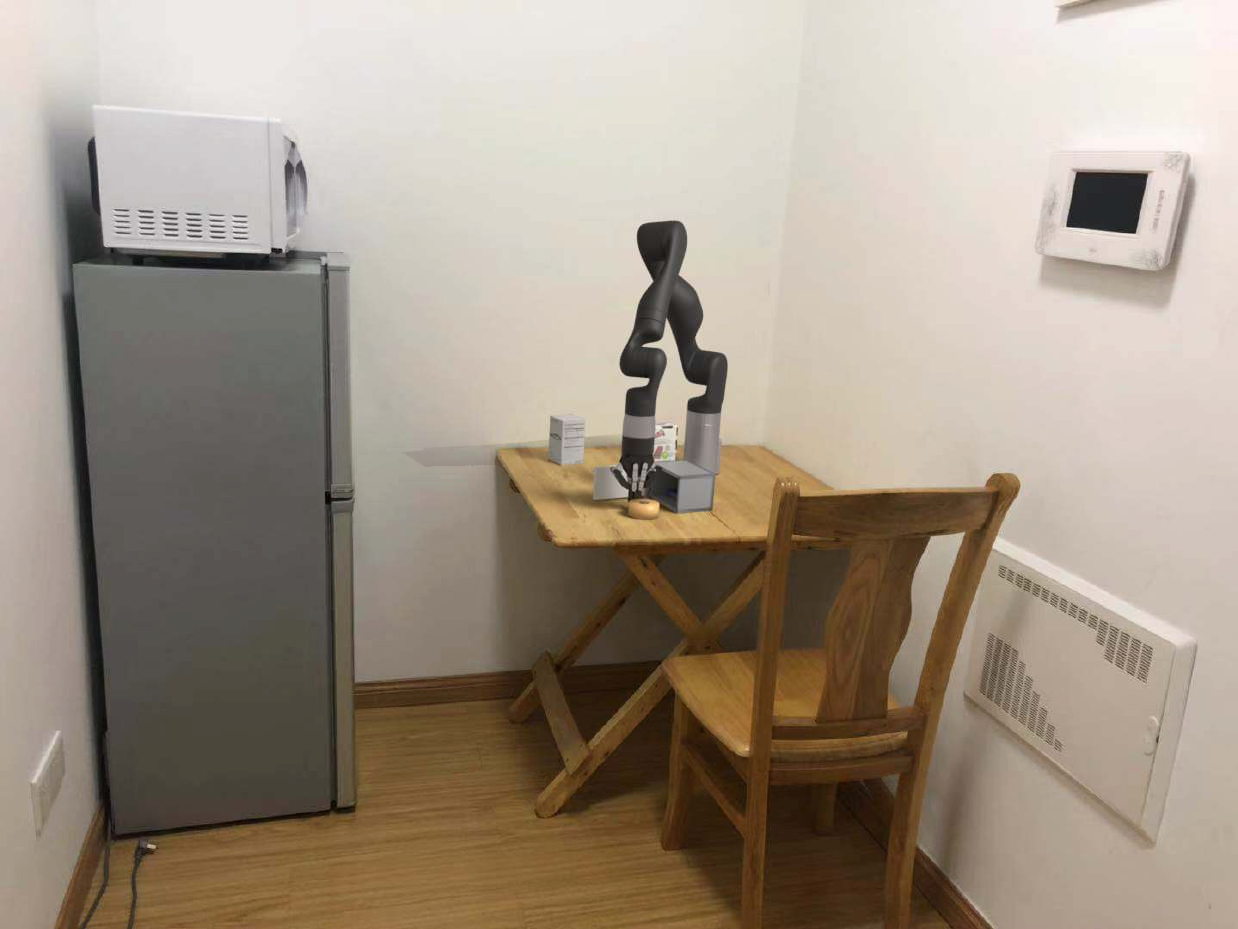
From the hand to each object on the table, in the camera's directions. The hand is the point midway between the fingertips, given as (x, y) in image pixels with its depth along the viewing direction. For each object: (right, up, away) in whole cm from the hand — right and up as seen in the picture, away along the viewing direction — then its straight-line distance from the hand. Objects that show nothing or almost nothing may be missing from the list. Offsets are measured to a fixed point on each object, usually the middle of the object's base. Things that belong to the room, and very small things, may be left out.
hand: (634, 505), depth 233 cm
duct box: (+11, 0, +7) cm, 14 cm away
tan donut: (+2, -2, -4) cm, 5 cm away
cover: (-3, +1, +8) cm, 9 cm away
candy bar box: (+5, +4, +20) cm, 21 cm away
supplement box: (-18, +10, +42) cm, 47 cm away
